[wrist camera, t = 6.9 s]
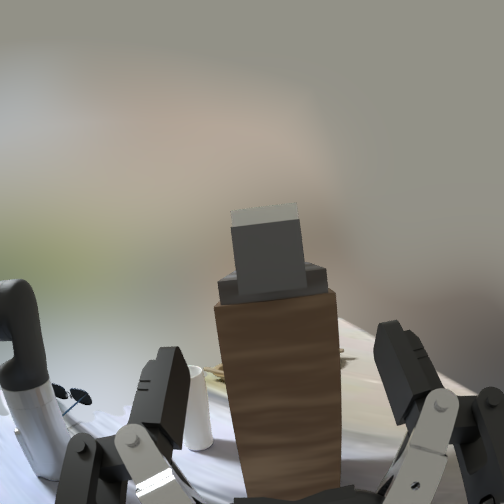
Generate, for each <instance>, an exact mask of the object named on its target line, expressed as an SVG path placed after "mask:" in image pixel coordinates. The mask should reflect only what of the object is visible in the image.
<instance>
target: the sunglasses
mask: <svg viewBox="0 0 504 504" xmlns="http://www.w3.org/2000/svg"><path fill="white" fill-rule="evenodd" d="M51 384H52V387H53V390H54V393H55V396H56V397H57V398H60V399H68V394H67V392H66V391H65V389H64V388H63V387H61V386H58V385H55V384H53V383H51ZM70 392H71V395H72V396H71V395H70V398H72V397H73V398H74V399H75V400H76V401H77V402H76V403H75V404H74V405H73V406H72V407H70V408H69V409H68V410H67V411H66V412H65V413H64V414H63V415H62V416H64V415H65V414H66V413H67V412H68V411H69V410H70V409H72V408H73V407H74V406H75V405H76V404H77V403H78V402H79V403H81V404H84V405H91V404H92V400H91V398H90V396H89V395H88V394H87V392H86V391H85V392H84V391H82V390H81V389H80V390H78V389H75V388H74V389H73V388H71V389H70ZM68 393H69V392H68Z"/></svg>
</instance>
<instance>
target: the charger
mask: <svg viewBox="0 0 504 504" xmlns="http://www.w3.org/2000/svg"><path fill="white" fill-rule="evenodd" d="M231 218H232V227H231V234H232V241H233V250H234V259H235V266H236V275H237V283H238V291H239V296H240V295H249V294H258V293H267V292H275V291H283V290H292V289H300V288H307V280H306V271H305V262H304V253H303V245H302V236H301V228H300V221H299V217H298V210H297V203H289V204H281V205H272V206H265V207H256V208H249V209H242V210H234V211H231Z"/></svg>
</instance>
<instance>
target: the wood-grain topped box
mask: <svg viewBox="0 0 504 504" xmlns="http://www.w3.org/2000/svg"><path fill="white" fill-rule="evenodd" d="M305 271H306V280H307V288H300V289H292V290H283V291H275V292H267V293H258V294H249V295H240V296H239V291H238V283H237V275H236V271H234V272H232V273H231V274H229V275H227V276H226V277H224V278H223V279H221V280H220V281H218V289H219V296H220V301H219V302H218V303H217V304H216V305H215V306H214V311H215V319H216V326H217V332H218V340H219V346H220V353H221V359H222V365H223V371H224V377H225V383H226V389H227V395H228V401H229V406H230V412H231V417H232V423H233V428H234V433H235V439H236V444H237V449H238V454H239V459H240V464H241V469H242V473H243V478H244V483H245V487H246V492H247V497H248V498H250V497H267V498H274V499H281V500H289V501H296V500H300V499H302V498H305V497H308V496H311V495H313V494H316V493H319V492H321V491H324V490H328V489H334V488H339V487H340V475H341V431H342V416H341V371H340V348H339V331H338V317H337V304H336V293H335V292H334V291H332V290H331V289H329V288H328V282H327V273H326V268H323V267H320V266H317V265H314V264H312V263H309V262H305Z"/></svg>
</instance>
